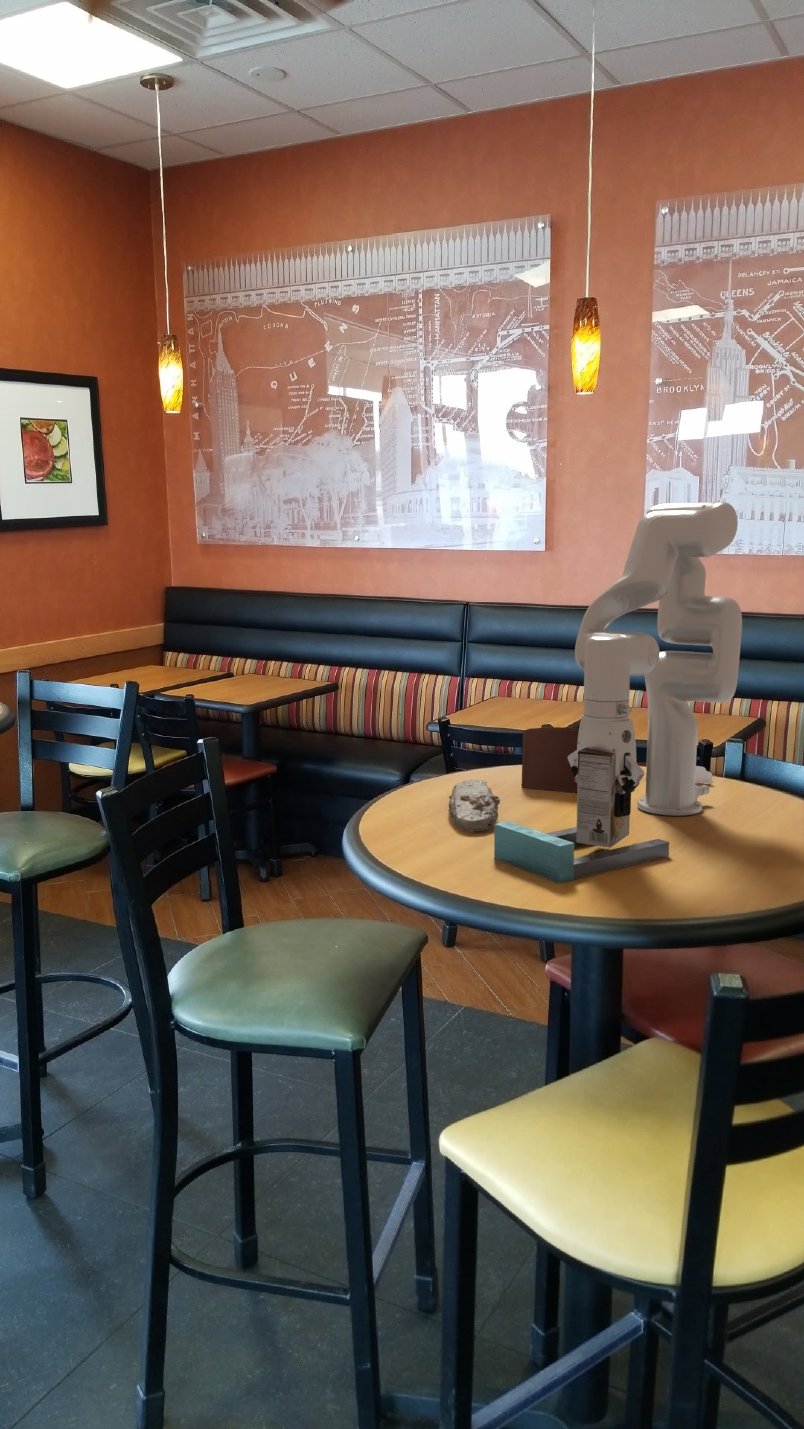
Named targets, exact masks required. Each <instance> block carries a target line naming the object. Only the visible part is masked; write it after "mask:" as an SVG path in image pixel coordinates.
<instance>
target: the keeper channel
mask: <svg viewBox="0 0 804 1429" xmlns="http://www.w3.org/2000/svg"><path fill="white" fill-rule="evenodd" d="M493 837H494V839H493V840H494V841H493V842H494V845H493V848H494V849H493V850H494V854H493V855H494V856H493V857H494V859H495V860H497V861H500V862H503V863H505V864H508V865H510V866H513V867H515V868H518V869H521V870H524V871H526V872H529V873H531V874H534V875H537V876H539V877H541V878H544V879H546V880H549V881H552V882H554V883H557V884H562V883H565V882H571V881H574V880H578V879H583V878H587V877H591V876H594V875H599V874H603V873H607V872H612V871H615V870H619V869H623V868H626V867H632V866H635V865H640V864H643V863H648V862H653V861H655V860H660V859H663V858H664V859H665V858H667V857H669V856H670V841H667V840H664V839H660V838H656V839H652V840H646V841H642V842H638V843H634V844H629V845H625V846H621V847H616V848H612V849H611V848H610V849H609V850H604V851H599V852H594V853H591V854H586V855H581V856H577V857H575V847H578V846H582V845H584V844H583V843H577V842H576V838H577V826H575V827H570V828H566V829H561V830H557V831H550V832H546V833H544V832H543V831H539V830H536V829H533V828H530V827H527V826H523V825H521V824H517V823H514V822H512V821H502V822H498V823H497V822H496V823H495V825H494V835H493Z"/></svg>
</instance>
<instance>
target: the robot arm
mask: <svg viewBox="0 0 804 1429" xmlns="http://www.w3.org/2000/svg"><path fill="white" fill-rule="evenodd" d="M640 518H641V519H640V520H639V521H638V523H637V526H636V529H635V531H634V535H633V538H632V542H631V545H630V548H629V550H628V551H629V552H628V555H627V558H626V562H625V565H624V568H623V571H622V575H621V576H620V578H619V579H618V580H617V581H616V582H614V583H612V584H611V585H610V586H608V587H607V588H606V589H604V591H602V592H601V594H599V595H598V596H597V597H595V600H593V601H592V602H591V603H590V605H589V606H588V608H587V610H586V611H585V613H584V615H583V617H582V621H581V623H580V627H579V631H578V634H577V637H576V641H575V647H574V658H575V662H576V665H577V666H578V667H579V668H580V669H581V670H582V671H584V673H583V674H584V675H583V707H582V708H583V709H582V710H583V712H582V713H583V714H582V715H581V718H580V722H579V728H578V729H579V733H578V743H577V750H576V751H574V752H573V753H571V754H570V755H569V756H568V761H569V763H570V766H571V767H572V768H571V770H572V772H573V774H574V776H575V782H576V783H578V751H579V750H582V749H584V748H591V749H595V750H600V751H604V752H608V753H613V754H615V766H614V777H615V779H616V788H617V791H618V793H616V794H615V817H623V816H627V815H630V814H631V811H632V810H631V809H632V807H631V806H632V794H633V793H634V792H635V789H636V788H637V787H639V785H640V782H641V781H642V779H643V778H644V776H645V775H646V776H645V797H644V796H643V797H642V798H639V799H638V800H637V801H636V802H637V804H636V806H637V808H638V809H639V810H641V811H643V812H645V813H646V812H647V813H648V814H653V815H659V816H660V815H662V816H671V817H672V816H673V817H675V816H677V817H680V816H681V817H682V816H691V815H695V814H696V815H697V814H699V813H701V812H702V811H703V804H702V803H701V802H700V801H698V798H699V797H700V796H704V795H708V794H710V787H709V785H708V786H707V785H705V784H702V785H699V784H695V775H696V766H697V752H698V751H697V747H698V727H699V726H698V722H697V721H698V720H697V718H696V714H695V713H694V711H693V710H692V708H691V706H690V705H689V704H688V702H699V703H700V702H701V703H713V704H714V703H716V704H722V703H727V702H729V701H730V700H731V699H733V697H734V696H735V693H736V690H737V685H738V679H739V678H738V677H739V667H740V656H741V642H742V633H743V617H742V616H743V615H742V611H741V607H740V605H739V603H738V601H736V600H735V599H734V598H732V597H727V596H716V595H715V596H714V595H713V596H711V595H709V596H706V594H705V592H706V576H707V572H706V568H705V565H704V564H703V562H702V560H701V558H708V557H712V556H714V555H716V554H717V553H720V552H722V551H723V550H725V549H726V548H728V547H729V546H730V545H731V544H732V542H733V541H734V539H735V537H736V535H737V532H738V527H739V526H738V523H739V521H738V515H737V511H736V510H735V508H734V506H733V505H731V504H730V503H728V502H725V501H707V502H706V501H704V502H703V501H702V502H701V501H700V502H696V501H695V502H667V503H661V504H657V505H654V506H651V507H650V508H649V509H647V511H646V513H645V515H644V516H642V517H640ZM656 602H658V606H657V622H656V624H657V625H656V626H657V634H658V637H659V638H660V639H661V641H664V642H665V643H668V644H669V643H670V644H674V645H675V644H677V645H685V646H686V645H687V646H688V645H689V646H690V645H691V646H709V647H711V648H712V652H699V651H697V652H695V651H686V650H685V651H684V650H665V651H664V650H663V651H660V646H659V643H658V641H657V640H656V639H655V638H654V636H652V635H651V634H648V633H646V632H639V631H623V630H607V627H609V625H610V624H611V623H613V621H615V620H616V619H618V618H620V617H621V616H623V615H625V614H627V613H631V612H633V611H635V610H638V609H640V608H643V607H646V606H648V605H651V604H654V603H656ZM631 676H633V677H634V676H635V677H636V676H637V677H641V676H644V679H645V680H644V682H645V689H646V697H647V742H646V744H647V746H646V770H645V771H646V774H645V771H644V769H642V767H641V766H640V765H639V764H638V763H637V744H636V742H637V741H636V734H635V733H636V732H635V728H634V727H635V726H634V723H633V719H632V718H630V717H629V716H630V714H631V713H632V712H633V709H632V707H631V706H630V689H631V688H630V686H631V685H630V682H631V680H630V679H631ZM620 771H622V775H620ZM630 776H631V778H630ZM621 780H623V781H624V783H625V784H624V785H623V783H622V781H621Z"/></svg>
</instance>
